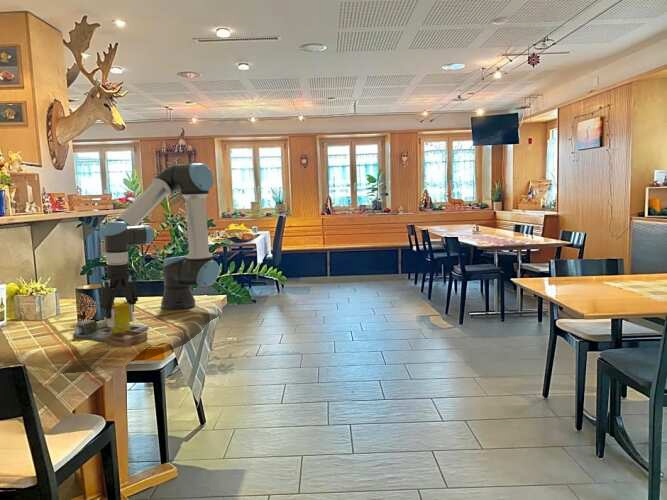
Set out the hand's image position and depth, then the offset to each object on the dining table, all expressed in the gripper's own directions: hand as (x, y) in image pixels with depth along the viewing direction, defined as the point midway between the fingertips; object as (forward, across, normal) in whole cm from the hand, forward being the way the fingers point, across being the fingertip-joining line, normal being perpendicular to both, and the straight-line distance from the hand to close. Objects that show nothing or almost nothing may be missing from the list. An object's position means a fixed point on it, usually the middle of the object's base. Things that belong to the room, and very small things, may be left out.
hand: (120, 323), depth 185 cm
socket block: (+3, +2, -3) cm, 5 cm away
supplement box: (+3, 0, 0) cm, 3 cm away
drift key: (+2, +5, -9) cm, 10 cm away
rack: (+3, +8, +11) cm, 14 cm away
